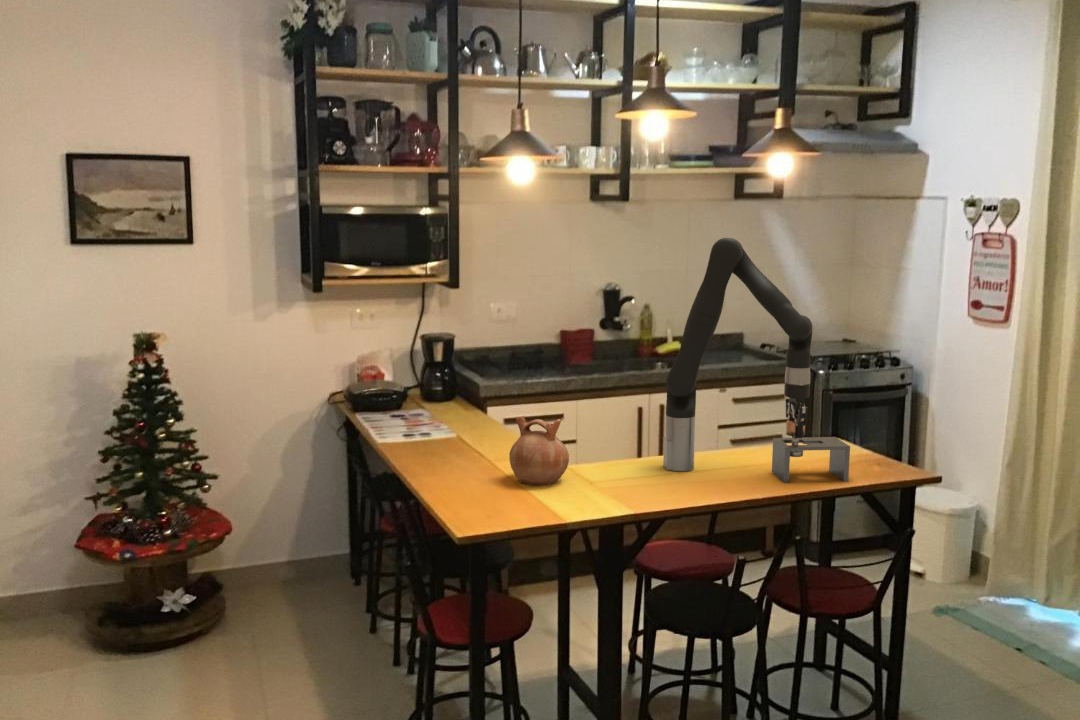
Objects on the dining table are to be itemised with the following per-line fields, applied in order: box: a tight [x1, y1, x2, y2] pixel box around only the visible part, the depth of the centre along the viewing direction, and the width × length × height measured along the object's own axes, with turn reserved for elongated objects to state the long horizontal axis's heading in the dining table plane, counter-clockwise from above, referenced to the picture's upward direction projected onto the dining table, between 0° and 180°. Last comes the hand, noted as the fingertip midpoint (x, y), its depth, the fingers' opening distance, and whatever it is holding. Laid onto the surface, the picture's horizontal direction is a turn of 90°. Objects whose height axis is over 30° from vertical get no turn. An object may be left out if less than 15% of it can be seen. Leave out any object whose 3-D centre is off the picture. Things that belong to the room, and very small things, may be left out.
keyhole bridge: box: [771, 436, 851, 484], centre depth 297 cm, size 20×12×11 cm, turn 94°
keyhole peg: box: [785, 419, 806, 458], centre depth 296 cm, size 6×6×10 cm
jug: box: [508, 415, 570, 487], centre depth 293 cm, size 18×18×20 cm
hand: (795, 435), depth 296 cm, fingers closed on keyhole peg, 5 cm apart
